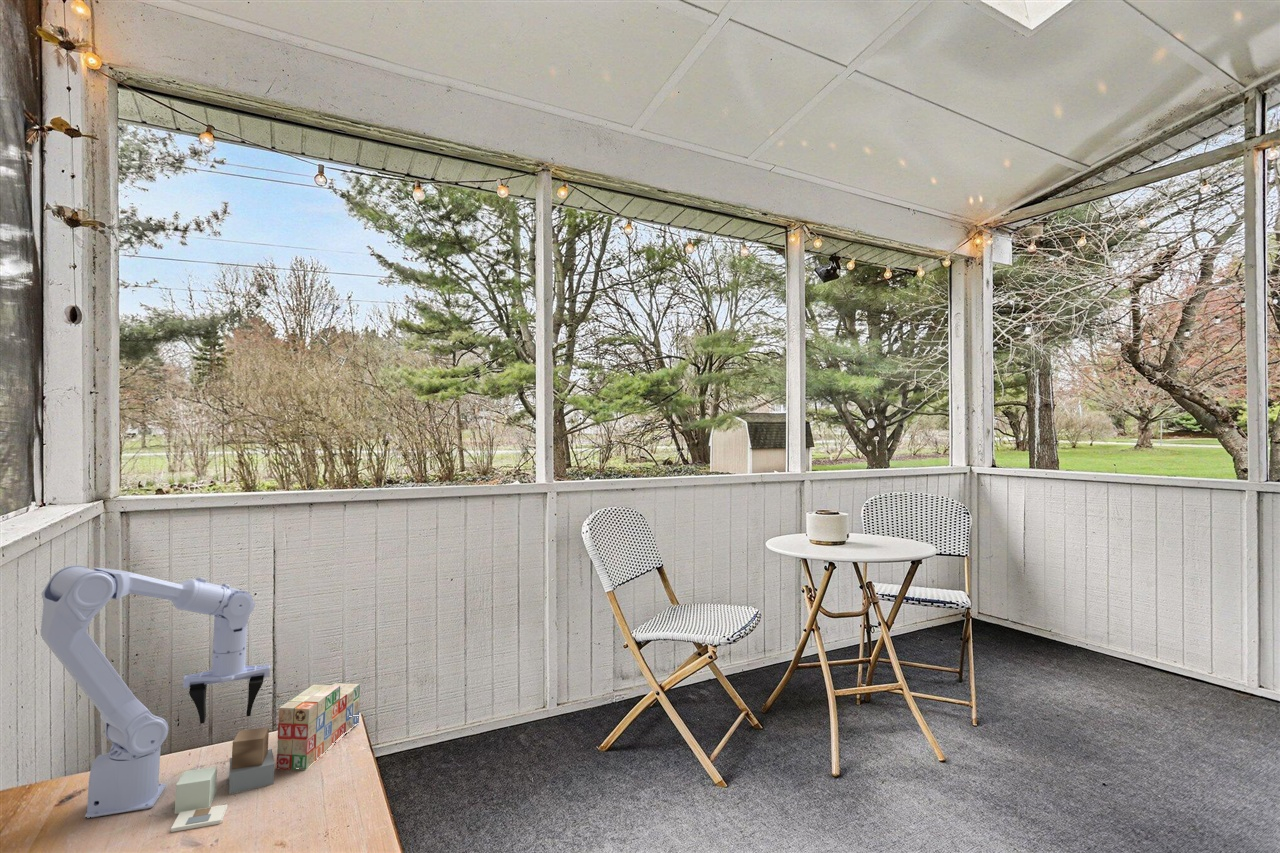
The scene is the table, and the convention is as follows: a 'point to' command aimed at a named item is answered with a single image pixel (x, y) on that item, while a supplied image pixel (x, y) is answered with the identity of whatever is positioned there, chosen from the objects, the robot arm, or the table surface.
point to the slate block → (252, 775)
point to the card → (199, 818)
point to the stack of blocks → (315, 722)
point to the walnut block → (250, 748)
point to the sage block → (195, 789)
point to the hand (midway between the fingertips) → (226, 717)
